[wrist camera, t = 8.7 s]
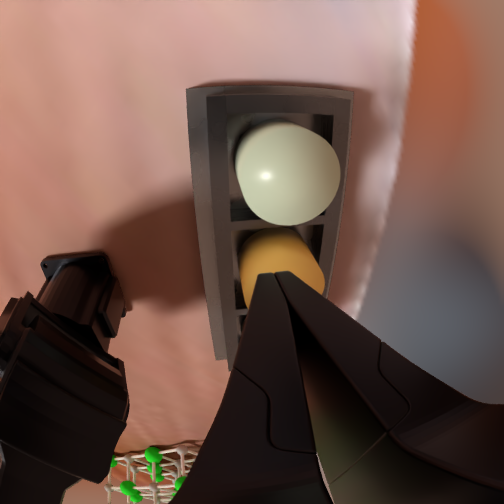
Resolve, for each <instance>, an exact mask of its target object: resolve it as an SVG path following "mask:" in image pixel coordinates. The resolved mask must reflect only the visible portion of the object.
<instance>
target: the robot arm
mask: <svg viewBox="0 0 504 504" xmlns="http://www.w3.org/2000/svg"><path fill="white" fill-rule="evenodd" d="M100 258H102V259H104V261H103V260H100ZM46 264H47V265H46ZM41 268H42V270H43V272H44V275H45V277H46V279H47V280H46V281H45V283H44V285H43V286H42V288H41V290H40V292H39V294H38V295H37V297H36V299H35V298H34V297H33V295H32V294H31V293H30V292H29V291H27V293H26V294H25V296H24V297H23V298H22V297H20V298H19V299H17V298H11V299H10V301H9V302H8V304H7V306H6V307H5V309H4V311H3V313H2V314H1V316H0V504H62V501H63V498H64V494H65V492H66V490H67V489H69V488H70V487H72V486H73V485H74V484H76V483H78V482H79V481H81V480H82V479H85V480H88V481H90V482H94V483H97V484H99V483H101V482H102V481H103V480H104V478H105V477H106V476H107V475H108V474H109V472H110V467H111V462H112V457H113V453H114V450H115V447H116V444H117V442H118V440H119V437H120V436H121V434H122V432H123V431H124V429H125V428H126V425H127V423H126V420H127V418H128V414H129V406H130V404H129V395H128V390H127V383H126V376H125V368H124V362H123V361H122V360H120V359H118V358H115V357H113V356H112V355H110V354H108V353H107V352H108V348H109V344H110V339H111V338H115V337H116V336H117V332H118V328H119V324H120V320H121V318H122V317H125V315H126V308H125V305H124V304H125V299H124V296H123V294H122V291H121V288H120V285H119V282H118V279H117V278H116V277H115V276H114V274H113V271H112V268H111V265H110V261H109V258H108V256H107V255H106V254H105V253H103V252H99V253H89V254H80V255H70V256H61V257H52V258H44V259H43V260H42V262H41ZM317 453H318V456H319V459H320V462H321V465H322V468H323V471H324V474H325V476H326V479H327V482H328V484H329V488H330V491H331V494H332V497H333V500H334V503H335V504H504V404H487V403H482V402H479V401H476V400H473V399H471V398H469V397H467V396H465V395H464V394H462V393H460V392H459V391H457V390H455V389H454V388H452V387H450V386H449V385H447V384H445V383H444V382H442V381H440V380H439V379H437V378H436V377H434V376H432V375H431V374H429V373H427V372H426V371H424V370H422V369H421V368H420V367H418V366H417V365H415V364H414V363H412V362H410V361H409V360H408V359H406V358H405V357H403V356H402V355H401V354H399V353H398V352H397V351H395V350H394V349H392V348H391V347H390V346H389V345H387V344H386V343H385V342H381V340H380V339H379V338H378V337H377V336H375V335H374V334H372V333H371V332H370V331H368V330H367V329H366V328H365V327H363V326H362V325H361V324H359V323H358V322H357V321H356V320H354V319H353V318H352V317H350V316H349V315H348V314H346V313H345V312H344V311H342V310H341V309H340V308H338V307H337V306H336V305H334V304H333V303H332V302H330V301H329V300H328V299H326V298H325V297H324V296H322V295H321V294H320V293H318V292H317V291H316V290H314V289H313V288H312V287H310V286H309V285H308V284H306V283H305V282H304V281H302V280H301V279H300V278H298V277H297V276H296V275H294V274H293V273H292V272H290V271H279V272H275V273H274V274H273V273H272V272H269V273H260V274H258V275H257V279H256V283H255V286H254V290H253V294H252V298H251V301H250V305H249V309H248V312H247V316H246V320H245V324H244V327H243V331H242V335H241V338H240V342H239V346H238V349H237V353H236V357H235V360H234V364H233V369H232V370H231V374H230V377H229V381H228V384H227V387H226V390H225V393H224V396H223V400H222V402H221V405H220V407H219V410H218V412H217V414H216V417H215V419H214V422H213V424H212V426H211V428H210V430H209V432H208V434H207V436H206V438H205V441H204V443H203V445H202V447H201V449H200V451H199V453H198V455H197V457H196V459H195V461H194V463H193V465H192V467H191V469H190V471H189V473H188V475H187V476H186V478H185V480H184V482H183V483H182V485H181V487H180V488H179V490H178V491H177V493H176V494H175V496H174V497H173V498H172V500H171V501H170V502H169V503H168V504H333V502H332V499H331V497H330V495H329V493H328V491H327V488H326V486H325V484H324V481H323V478H322V474H321V471H320V467H319V462H318V457H317V455H316V454H317Z"/></svg>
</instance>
